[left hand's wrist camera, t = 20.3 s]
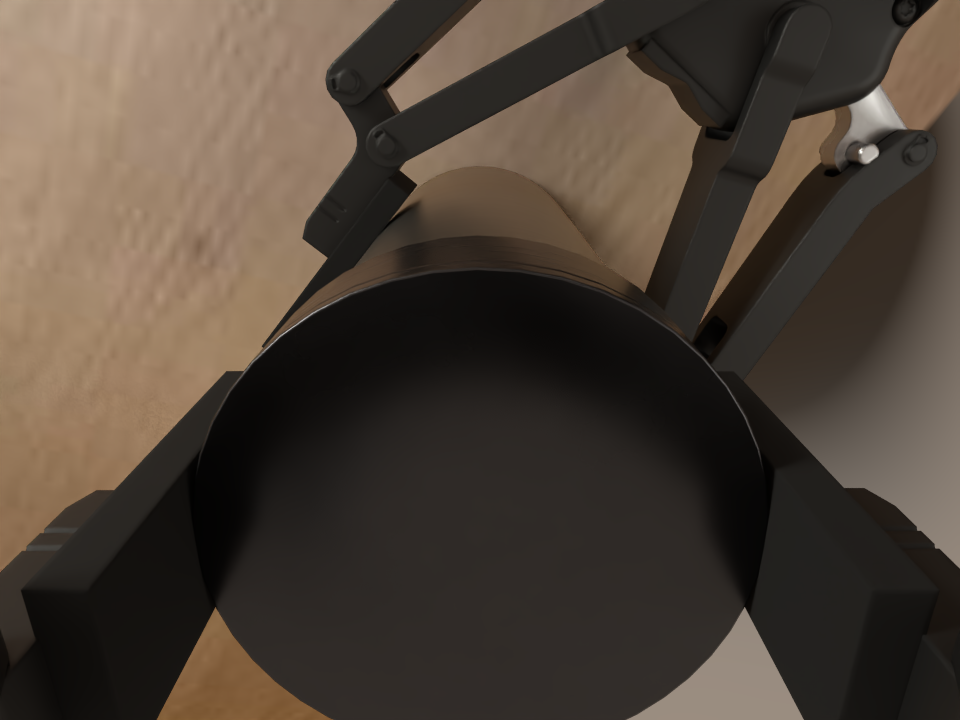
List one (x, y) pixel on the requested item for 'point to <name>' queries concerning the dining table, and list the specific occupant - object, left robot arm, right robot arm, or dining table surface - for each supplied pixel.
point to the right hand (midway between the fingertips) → (392, 416)
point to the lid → (480, 492)
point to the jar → (480, 213)
